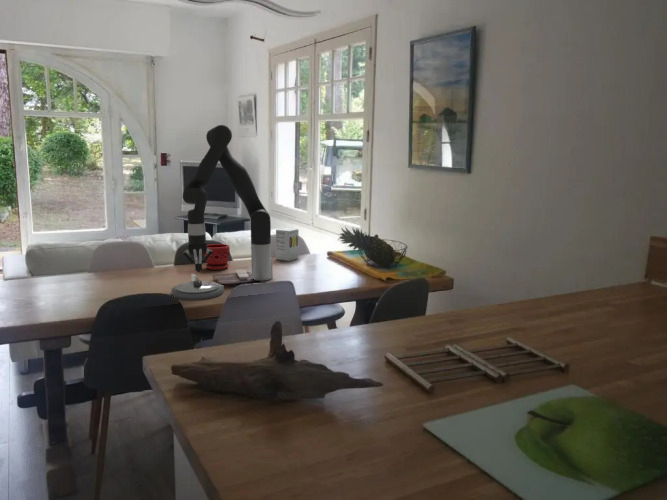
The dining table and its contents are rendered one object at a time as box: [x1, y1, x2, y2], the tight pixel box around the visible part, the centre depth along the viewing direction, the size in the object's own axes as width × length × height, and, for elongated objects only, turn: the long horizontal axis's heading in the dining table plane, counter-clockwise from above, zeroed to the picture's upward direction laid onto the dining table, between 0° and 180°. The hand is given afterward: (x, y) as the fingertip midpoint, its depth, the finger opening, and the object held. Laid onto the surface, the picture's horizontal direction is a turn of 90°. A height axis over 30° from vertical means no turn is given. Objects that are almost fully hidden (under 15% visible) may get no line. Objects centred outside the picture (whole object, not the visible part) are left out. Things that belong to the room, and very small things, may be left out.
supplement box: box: [275, 227, 299, 262], centre depth 318 cm, size 10×9×17 cm
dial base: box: [171, 283, 225, 301], centre depth 248 cm, size 22×22×2 cm
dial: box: [175, 273, 220, 294], centre depth 248 cm, size 20×18×4 cm
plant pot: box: [203, 243, 231, 271], centre depth 295 cm, size 13×13×12 cm
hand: (198, 271), depth 254 cm, fingers closed
